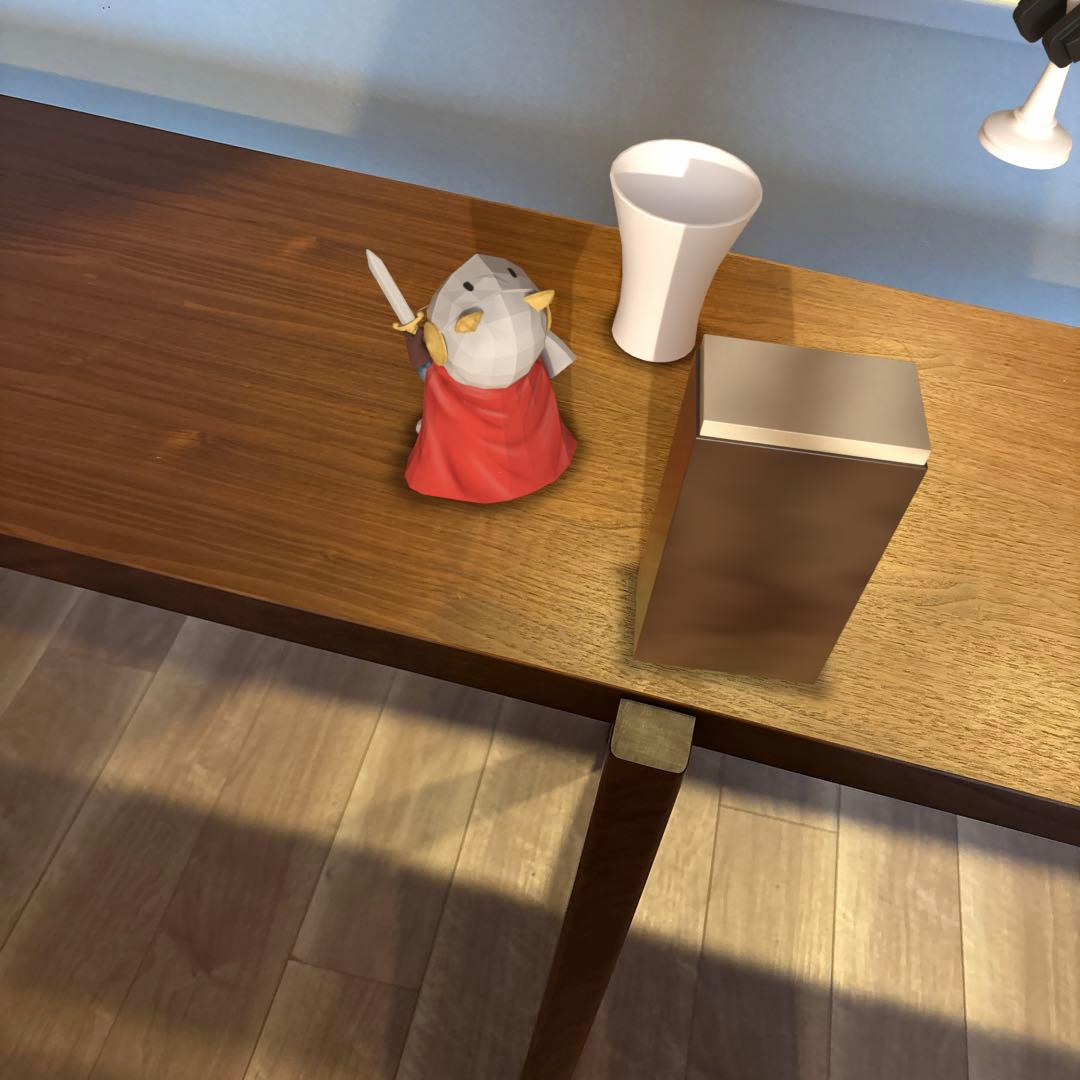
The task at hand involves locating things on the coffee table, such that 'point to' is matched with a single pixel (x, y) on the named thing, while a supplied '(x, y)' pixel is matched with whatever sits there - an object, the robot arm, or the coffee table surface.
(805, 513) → the rectangular box
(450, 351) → the figurine
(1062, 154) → the chess piece
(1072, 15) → the robot arm
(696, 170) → the cup
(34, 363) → the coffee table surface
